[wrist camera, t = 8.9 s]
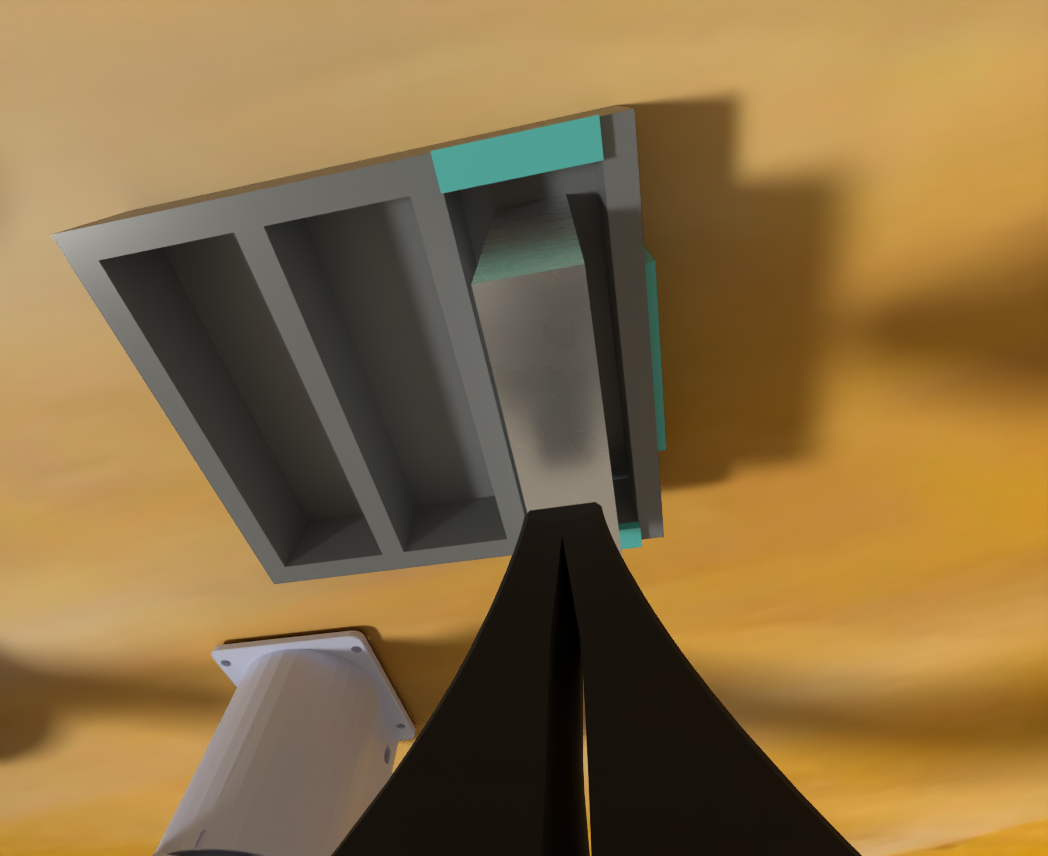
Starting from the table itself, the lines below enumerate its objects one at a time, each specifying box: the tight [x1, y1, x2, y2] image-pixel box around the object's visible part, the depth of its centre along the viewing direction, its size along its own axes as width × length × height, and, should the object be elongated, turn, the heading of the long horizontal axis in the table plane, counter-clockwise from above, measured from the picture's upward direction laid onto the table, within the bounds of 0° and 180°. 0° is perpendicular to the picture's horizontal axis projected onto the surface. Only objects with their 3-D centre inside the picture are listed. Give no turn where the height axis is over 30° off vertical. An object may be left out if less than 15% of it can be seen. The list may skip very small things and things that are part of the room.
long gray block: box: [471, 194, 622, 556], centre depth 15 cm, size 10×2×7 cm, turn 11°
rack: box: [52, 105, 666, 584], centre depth 17 cm, size 13×15×3 cm
